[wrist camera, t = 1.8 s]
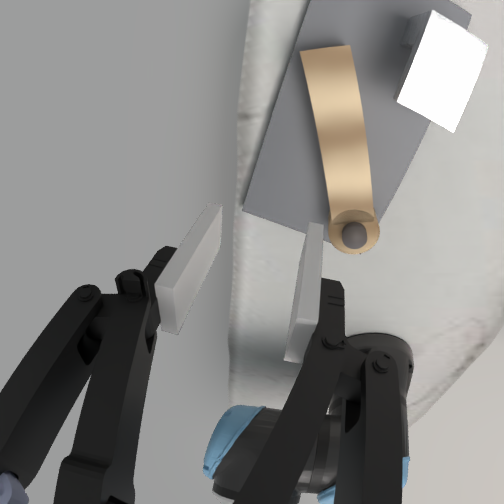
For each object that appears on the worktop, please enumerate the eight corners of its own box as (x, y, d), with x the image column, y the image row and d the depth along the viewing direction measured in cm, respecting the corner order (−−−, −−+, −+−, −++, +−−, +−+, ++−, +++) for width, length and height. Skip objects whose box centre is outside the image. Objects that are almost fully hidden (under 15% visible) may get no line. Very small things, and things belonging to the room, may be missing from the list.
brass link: (376, 235, 32) (381, 258, 29) (331, 239, 34) (331, 262, 30) (352, 45, 22) (357, 43, 19) (296, 52, 23) (292, 52, 20)
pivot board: (359, 248, 35) (360, 254, 34) (244, 205, 35) (241, 210, 34) (466, 15, 18) (471, 14, 17) (329, -49, 18) (329, -52, 17)
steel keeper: (424, 112, 25) (453, 132, 19) (378, 89, 25) (397, 101, 19) (451, 44, 20) (488, 45, 14) (405, 19, 20) (432, 9, 14)
